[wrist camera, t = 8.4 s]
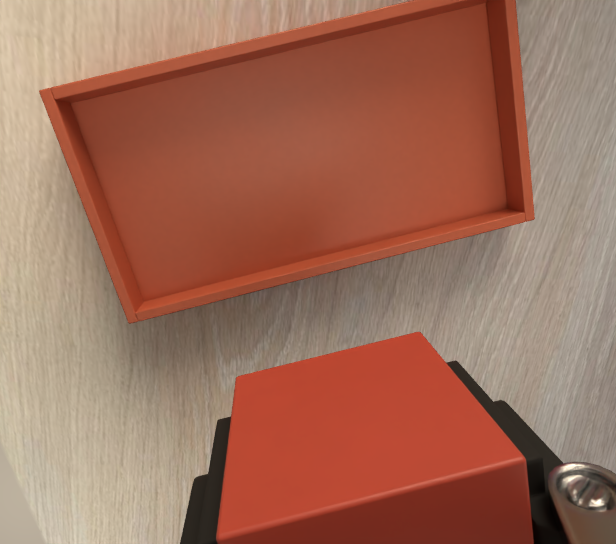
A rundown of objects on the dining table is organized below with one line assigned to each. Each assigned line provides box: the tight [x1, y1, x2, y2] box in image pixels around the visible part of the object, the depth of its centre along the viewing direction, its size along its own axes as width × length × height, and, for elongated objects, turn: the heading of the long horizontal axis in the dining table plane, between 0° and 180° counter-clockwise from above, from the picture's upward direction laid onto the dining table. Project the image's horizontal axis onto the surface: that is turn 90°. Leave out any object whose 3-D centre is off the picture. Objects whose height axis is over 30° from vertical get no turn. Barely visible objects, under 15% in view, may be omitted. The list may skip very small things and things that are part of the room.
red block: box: [216, 332, 534, 544], centre depth 10 cm, size 5×5×5 cm
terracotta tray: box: [39, 0, 535, 324], centre depth 26 cm, size 25×13×3 cm, turn 103°
